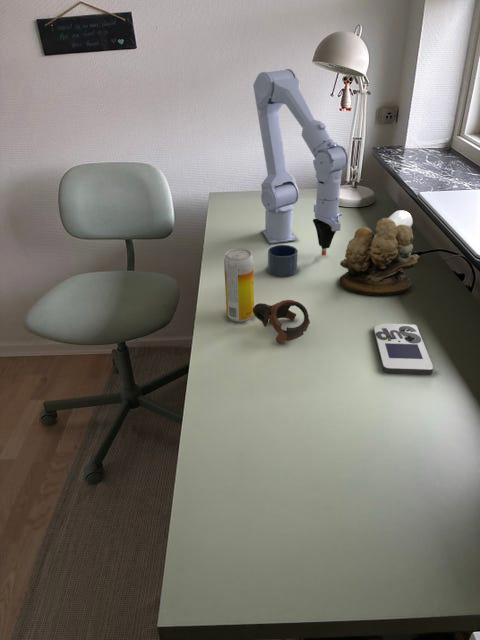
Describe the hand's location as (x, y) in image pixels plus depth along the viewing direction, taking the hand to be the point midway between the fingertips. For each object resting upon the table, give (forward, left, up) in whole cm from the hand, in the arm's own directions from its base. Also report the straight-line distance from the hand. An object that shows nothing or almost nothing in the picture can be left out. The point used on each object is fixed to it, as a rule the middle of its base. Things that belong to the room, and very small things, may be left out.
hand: (324, 246), depth 130 cm
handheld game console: (+44, 0, -3) cm, 44 cm away
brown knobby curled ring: (+32, -21, -3) cm, 38 cm away
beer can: (+24, -28, -3) cm, 37 cm away
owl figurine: (+18, +7, -3) cm, 20 cm away
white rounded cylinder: (+1, +17, 0) cm, 17 cm away
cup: (+5, -13, -3) cm, 14 cm away
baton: (0, 0, -2) cm, 2 cm away
